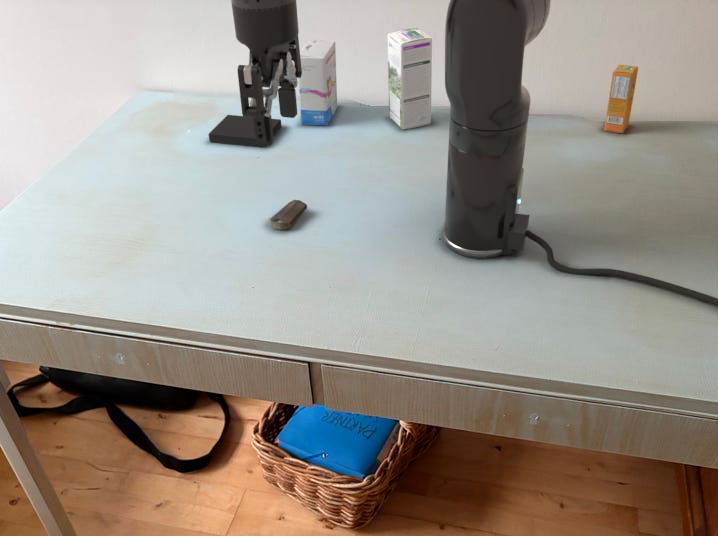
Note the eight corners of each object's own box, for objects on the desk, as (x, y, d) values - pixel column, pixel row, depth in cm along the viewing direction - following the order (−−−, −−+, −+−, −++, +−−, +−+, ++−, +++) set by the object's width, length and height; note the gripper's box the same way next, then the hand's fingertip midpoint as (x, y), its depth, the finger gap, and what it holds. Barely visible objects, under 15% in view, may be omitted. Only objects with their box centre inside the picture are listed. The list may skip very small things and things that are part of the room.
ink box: (328, 126, 129) (324, 56, 121) (300, 125, 130) (294, 55, 122) (339, 106, 135) (335, 39, 128) (312, 105, 136) (307, 38, 128)
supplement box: (607, 123, 126) (619, 62, 119) (628, 126, 124) (641, 66, 118) (601, 130, 124) (613, 69, 117) (622, 134, 122) (635, 73, 116)
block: (308, 212, 107) (307, 201, 106) (288, 233, 103) (286, 221, 102) (287, 207, 109) (285, 196, 107) (265, 227, 105) (264, 216, 103)
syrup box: (432, 124, 128) (434, 36, 119) (400, 130, 127) (400, 42, 117) (417, 112, 132) (419, 26, 123) (387, 118, 131) (386, 32, 121)
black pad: (281, 127, 130) (280, 119, 129) (264, 147, 124) (263, 139, 123) (229, 122, 132) (227, 114, 131) (209, 142, 126) (208, 133, 125)
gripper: (270, 17, 81) (284, 157, 91) (314, -20, 91) (322, 110, 101) (207, 13, 82) (228, 150, 93) (257, -23, 93) (271, 105, 103)
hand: (277, 129), depth 97 cm, fingers open, 8 cm apart
